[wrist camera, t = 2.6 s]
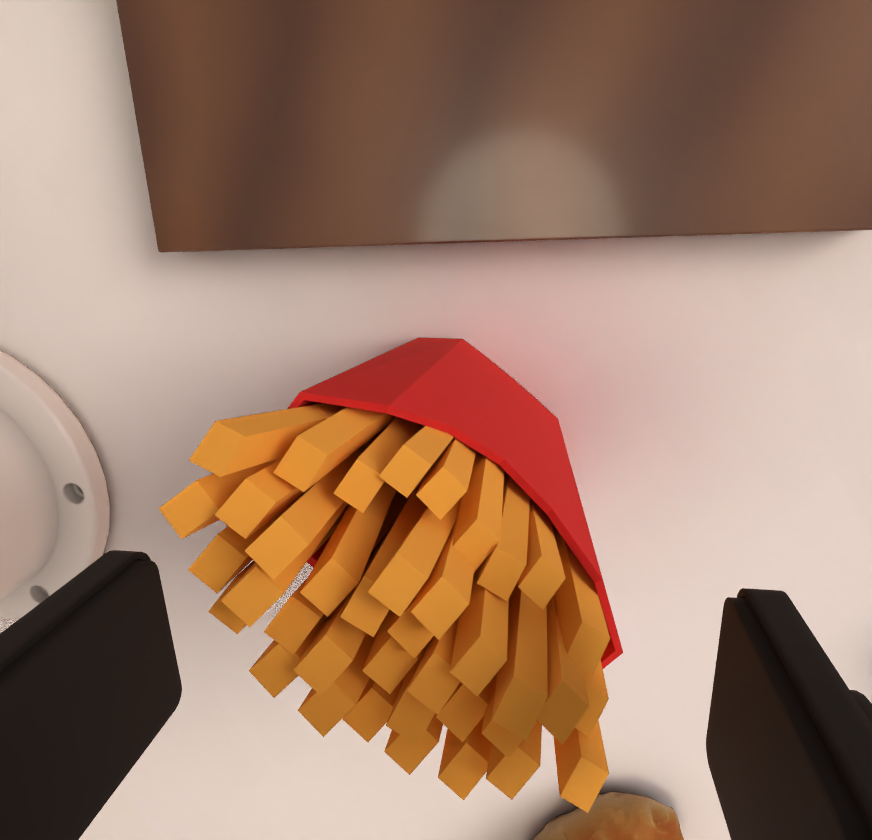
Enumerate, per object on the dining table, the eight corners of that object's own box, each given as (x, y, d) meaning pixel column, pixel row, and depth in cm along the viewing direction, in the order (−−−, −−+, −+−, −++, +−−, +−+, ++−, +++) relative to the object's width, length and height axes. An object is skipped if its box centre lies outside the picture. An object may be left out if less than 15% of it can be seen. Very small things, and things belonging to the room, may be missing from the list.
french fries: (606, 454, 21) (707, 762, 9) (525, 533, 23) (520, 891, 11) (405, 285, 21) (225, 377, 8) (333, 377, 22) (90, 571, 10)
